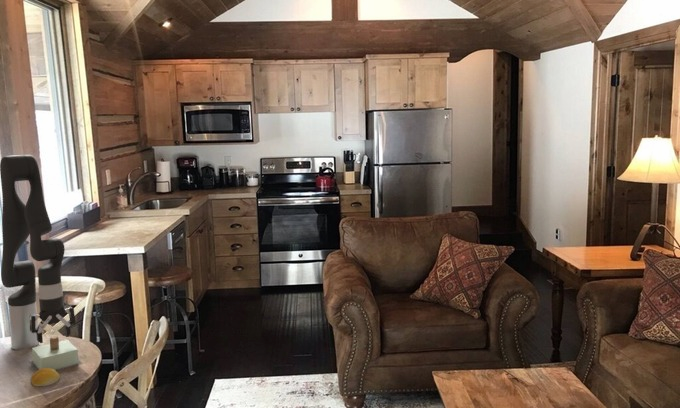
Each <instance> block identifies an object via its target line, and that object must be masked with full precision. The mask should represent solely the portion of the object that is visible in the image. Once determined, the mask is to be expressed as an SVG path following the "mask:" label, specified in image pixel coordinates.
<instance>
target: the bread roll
mask: <svg viewBox="0 0 680 408" xmlns="http://www.w3.org/2000/svg"><path fill="white" fill-rule="evenodd" d="M59 380H60V373H58V372H57V371H55V370H54V369H51V368H43V369H40V370H38V371H36V370H35V372H34V373H33V374H32V375H31V377H30V382H31V383H32V385H33V386H34V387H47V386H50V385H53V384H55V383H57V382H58V381H59Z"/></svg>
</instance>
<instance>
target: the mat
mask: <svg viewBox="0 0 680 408" xmlns="http://www.w3.org/2000/svg"><path fill="white" fill-rule="evenodd" d="M28 363H29V365H31V367H32V368H33V369H34V370H35V372H36V371H38V370H39V369H38V368H37V366H36V365H35V364H34V363H33V360H31V361H28ZM79 365H83V362H82V361H81V360H80V359H79V358H78V364H75V365H71V366H67V367H63V368H60V369H56V370H55V371H56V372H57V371H61V370H64V369H68V368H71V367H72V368H73V367H77V366H79Z"/></svg>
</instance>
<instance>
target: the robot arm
mask: <svg viewBox="0 0 680 408" xmlns="http://www.w3.org/2000/svg"><path fill="white" fill-rule="evenodd" d="M41 179H42V178H41V173H40V168H39V165H38V161H37V159H36V157H35V156H33V155H32V154H17V155H16V154H14V155H4V156H3V157H2V158H1V160H0V183H1V193H2V194H1V195H2V209H1V211H2V213H1V214H2V215H1V230H2V231H1V232H2V256H1V268H0V278H1V283H2V286H3V287H4V288H7V289H9V288H16V287H17V288H18V287H21V286H22V287H21V288H20V289H19V290H17V291H15V292H14V293H12V294H10V296H8V298H7V304H8V305H7V306H8V316H9V319H8V320H9V330H10V331H9V332H10V345H11V349H12V350H17V351H20V350H26V349H32V348H34V347H38V346H39V343H40V344H43V343H44V341H43V339H44V338H43V330H44V329H45V328H46V326H47V325H52V324H58V323H60V322H61V323H63V324H64V326H63V327H64V336H65V337H66V338H69V336H70V335H71V326H72V325H74V324H76V316H75V315H76V313H75V309H74V308H73V307H72V306H68V307H67V308H65V304H64V290H63V284H62V274H61V270H62V265H63V259H64V256H65V251H66V250H65V249H66V248H65V244H64V242H63V241H62V240H61V238H56V237H55V238H48V239H42V236H44V235H47V234H49V233H51V231H52V229H53V227H52V224H51V223H52V222H51V220H50V217H49V214H48V211H47V207H46V205H45V204H46V203H45V199H44V192H43V186H42V180H41ZM25 181H26V182H27V181H28V182H29V187H30V191H29V195H28V197H27V201H26V204H25V203H24V201H22V199H21V198H20V197H19V195H18V193H17V189H16V185H15V184H16V182H25ZM28 238H29V253H30V256H31V258H32V259H33V260H35V261H36V262H43V261H49V262H48V263H47V264H45V265H43V266H41V267H39V268H38V270H37V279H38V280H37V279H36V268H35V265H34V262H33V261H32V260H31V259H27V260H21V261H15V259H16V256H17V254H18V252H19V250H20V249H21V248H22V246H23V245H24V243H25V242H26V241H27V240H28ZM36 280H37V281H38V288H37V289H38V290H36V283H37V282H36ZM37 293H38V303H39V313H38V310H37V309H38V308H37V300H36V299H37ZM66 313H67V314H68V317H69V320H67V319H66V318H64V316H65V314H66ZM38 319H40V322H39V323H38V321H39V320H38Z"/></svg>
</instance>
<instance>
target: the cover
mask: <svg viewBox="0 0 680 408" xmlns="http://www.w3.org/2000/svg"><path fill="white" fill-rule="evenodd" d="M31 351H32V353H31V354H32V361H33V363H34V364H35V365H36V366H37V368H38V369H39V370H40V369H43V368H51V369H54V370H56V369H60V368H63V367H67V366H71V365H75V364H78V359H79V350H78V348H77V347H76V346H75V345H74V344H72V342H70V341H69V340H68V339H64V340H61V341H60V340H59V336H51V337H49V343H47V344H42V345H37V346H34V347H31Z"/></svg>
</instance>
